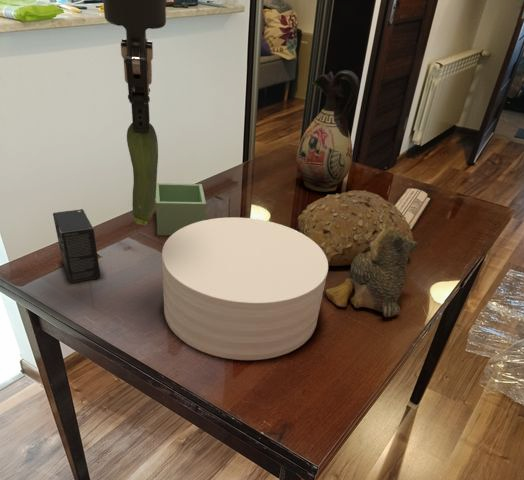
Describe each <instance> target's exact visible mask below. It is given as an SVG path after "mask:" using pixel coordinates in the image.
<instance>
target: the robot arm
mask: <svg viewBox="0 0 524 480" xmlns="http://www.w3.org/2000/svg"><path fill="white" fill-rule="evenodd" d="M102 3H103V4H102V5H103V14H104V15H103V16H104V19H105V21H106V22H107V23H109V24H111V25H114V26H118V27H123V28H124V29H125V35H126V36H125V38H121V42H120V55H121V57H122V60H123V72H124V81H125V83H126V84H127V91H128V94H127V99H128V102H129V104H131V117H132V118H131V119H132V122H133V131H134V132H135V133H148V132H149V123H150V102H151V97H150V96H149V95H150V93H151V88H150V86H151V84H152V82H153V79H152V78H153V68H152V67H153V66H152V65H153V64H152V61H153V59H154V49H153V48H154V47H153V45H154V44H153V41H152V40H148V38H147V30H148V29H151V30H158V29H162V28H163V27H165V25H166V23H167V14H166V13H167V10H166V6H167V5H166V4H167V3H166V0H102Z"/></svg>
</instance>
